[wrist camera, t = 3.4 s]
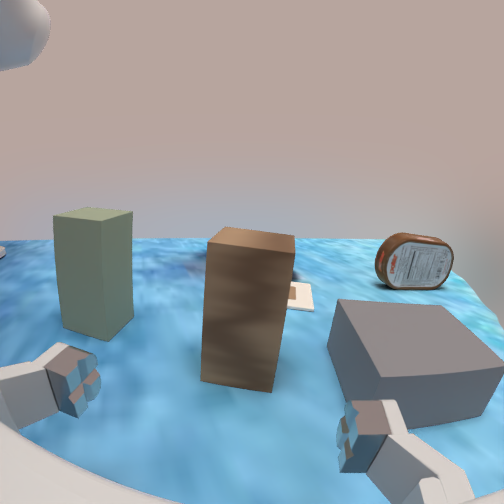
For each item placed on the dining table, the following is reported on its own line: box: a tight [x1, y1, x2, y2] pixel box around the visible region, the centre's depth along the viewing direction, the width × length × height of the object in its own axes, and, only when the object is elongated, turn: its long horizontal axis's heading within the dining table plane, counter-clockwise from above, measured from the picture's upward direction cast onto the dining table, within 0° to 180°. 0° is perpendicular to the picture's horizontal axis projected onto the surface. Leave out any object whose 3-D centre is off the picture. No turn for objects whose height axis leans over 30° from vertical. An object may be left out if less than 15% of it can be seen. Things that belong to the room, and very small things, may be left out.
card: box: [287, 282, 314, 312], centre depth 38 cm, size 8×8×1 cm
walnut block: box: [201, 227, 295, 393], centre depth 21 cm, size 5×5×10 cm
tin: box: [375, 233, 454, 290], centre depth 43 cm, size 15×3×8 cm, turn 99°
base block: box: [327, 299, 504, 430], centre depth 21 cm, size 11×11×5 cm
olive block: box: [53, 207, 134, 342], centre depth 25 cm, size 5×5×10 cm
